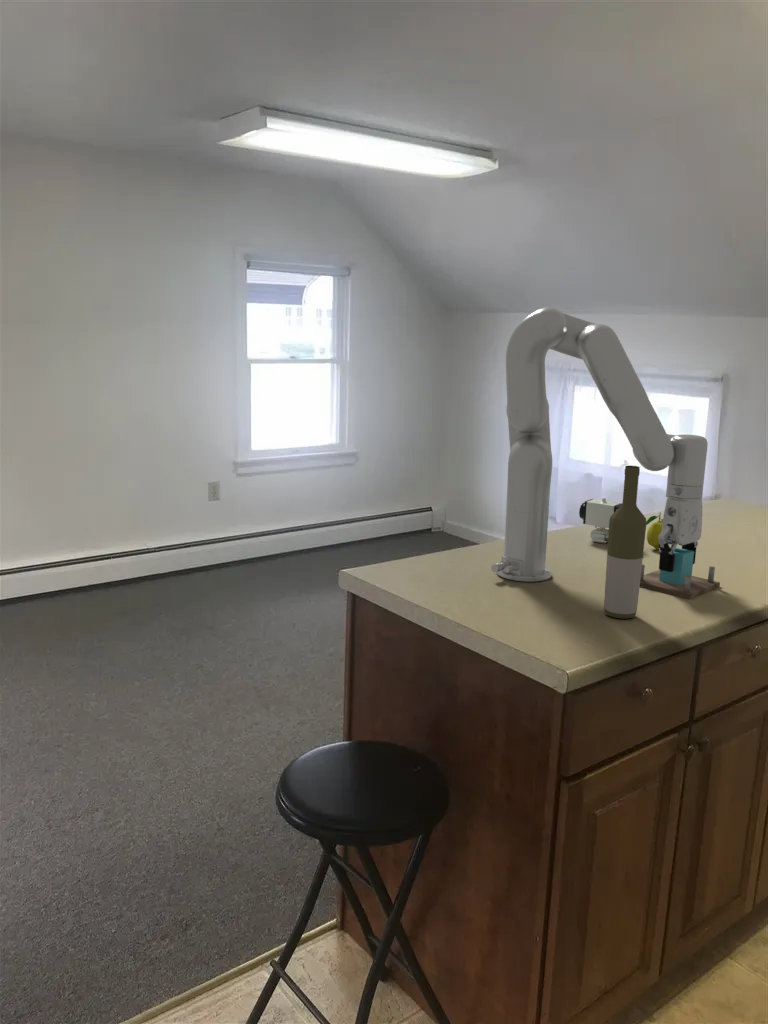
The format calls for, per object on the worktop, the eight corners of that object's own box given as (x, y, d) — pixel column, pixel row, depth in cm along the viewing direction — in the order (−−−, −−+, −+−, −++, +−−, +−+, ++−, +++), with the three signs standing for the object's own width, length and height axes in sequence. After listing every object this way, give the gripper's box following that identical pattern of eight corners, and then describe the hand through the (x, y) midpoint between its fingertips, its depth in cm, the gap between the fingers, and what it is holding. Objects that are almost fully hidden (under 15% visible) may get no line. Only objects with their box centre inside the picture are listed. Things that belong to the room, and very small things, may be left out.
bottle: (643, 614, 168) (657, 466, 162) (629, 623, 163) (643, 470, 156) (610, 607, 172) (622, 462, 166) (595, 615, 167) (607, 466, 161)
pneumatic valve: (618, 547, 221) (621, 502, 218) (576, 539, 228) (580, 496, 225) (626, 543, 225) (629, 499, 223) (585, 536, 232) (588, 493, 230)
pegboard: (689, 599, 179) (691, 576, 178) (630, 583, 189) (632, 562, 188) (719, 586, 188) (721, 565, 187) (662, 572, 198) (664, 552, 197)
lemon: (642, 550, 218) (645, 513, 216) (643, 545, 223) (647, 509, 221) (669, 553, 216) (673, 515, 213) (670, 548, 221) (673, 511, 219)
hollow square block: (680, 585, 185) (683, 555, 183) (659, 580, 188) (662, 550, 187) (691, 581, 188) (694, 551, 187) (670, 576, 192) (673, 546, 190)
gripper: (681, 499, 175) (673, 577, 179) (719, 489, 187) (711, 563, 191) (648, 493, 181) (641, 570, 184) (687, 484, 192) (680, 556, 196)
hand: (676, 566), depth 188 cm, fingers open, 9 cm apart
